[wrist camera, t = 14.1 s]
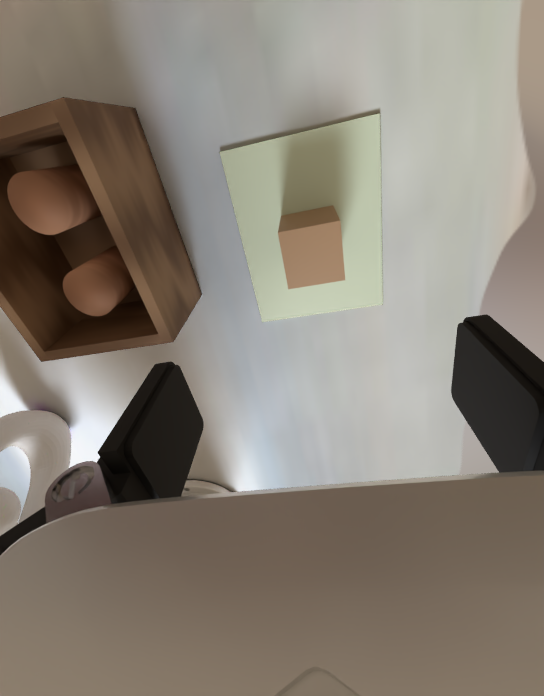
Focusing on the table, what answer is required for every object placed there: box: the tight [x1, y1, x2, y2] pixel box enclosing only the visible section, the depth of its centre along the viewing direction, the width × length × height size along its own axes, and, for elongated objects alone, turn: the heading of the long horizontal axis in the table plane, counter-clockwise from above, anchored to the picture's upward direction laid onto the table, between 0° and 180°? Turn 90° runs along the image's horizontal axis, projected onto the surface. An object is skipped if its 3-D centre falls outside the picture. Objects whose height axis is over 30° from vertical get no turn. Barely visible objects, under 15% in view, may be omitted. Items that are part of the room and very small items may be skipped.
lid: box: [220, 113, 383, 322], centre depth 24 cm, size 14×11×6 cm
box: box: [0, 97, 202, 362], centre depth 23 cm, size 14×11×8 cm
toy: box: [0, 410, 71, 536], centre depth 34 cm, size 11×7×15 cm, turn 20°
